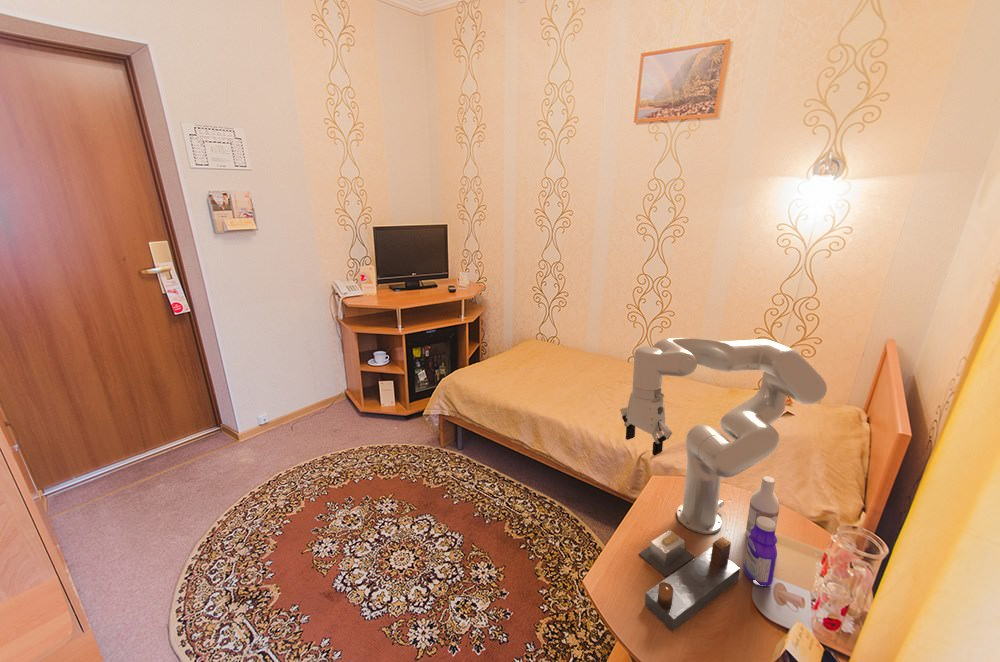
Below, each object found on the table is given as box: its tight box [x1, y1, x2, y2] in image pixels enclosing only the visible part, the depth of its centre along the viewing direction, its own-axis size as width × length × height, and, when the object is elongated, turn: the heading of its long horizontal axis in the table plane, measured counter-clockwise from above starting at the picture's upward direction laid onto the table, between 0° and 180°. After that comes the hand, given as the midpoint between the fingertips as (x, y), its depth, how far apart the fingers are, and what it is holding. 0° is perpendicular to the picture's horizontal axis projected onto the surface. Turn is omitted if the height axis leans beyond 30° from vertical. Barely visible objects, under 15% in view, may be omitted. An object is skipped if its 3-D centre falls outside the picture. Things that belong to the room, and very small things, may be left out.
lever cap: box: [649, 529, 686, 567], centre depth 114 cm, size 8×5×5 cm, turn 121°
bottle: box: [743, 516, 778, 587], centre depth 104 cm, size 7×6×17 cm
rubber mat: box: [638, 546, 696, 578], centre depth 114 cm, size 12×9×1 cm
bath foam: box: [745, 475, 780, 538], centre depth 117 cm, size 7×7×20 cm
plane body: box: [644, 536, 741, 633], centre depth 102 cm, size 26×8×10 cm, turn 120°
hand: (643, 445), depth 118 cm, fingers open, 9 cm apart
